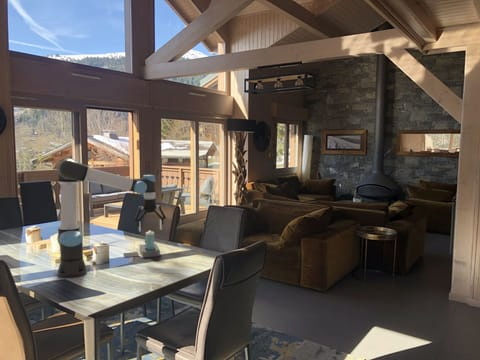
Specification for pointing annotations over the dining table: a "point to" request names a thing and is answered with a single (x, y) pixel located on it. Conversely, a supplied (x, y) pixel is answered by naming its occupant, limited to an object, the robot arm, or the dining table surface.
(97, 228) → the dining table surface
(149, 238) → the cartridge
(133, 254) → the mat
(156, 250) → the housing
